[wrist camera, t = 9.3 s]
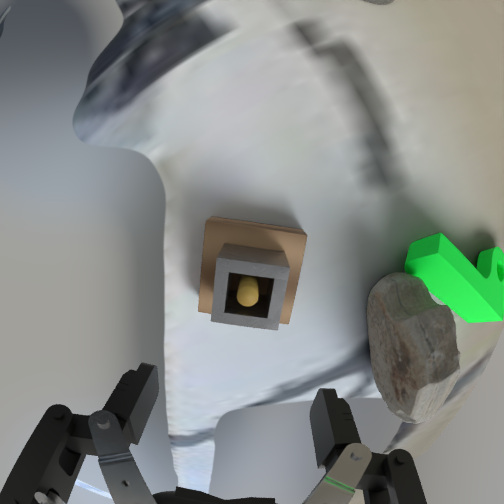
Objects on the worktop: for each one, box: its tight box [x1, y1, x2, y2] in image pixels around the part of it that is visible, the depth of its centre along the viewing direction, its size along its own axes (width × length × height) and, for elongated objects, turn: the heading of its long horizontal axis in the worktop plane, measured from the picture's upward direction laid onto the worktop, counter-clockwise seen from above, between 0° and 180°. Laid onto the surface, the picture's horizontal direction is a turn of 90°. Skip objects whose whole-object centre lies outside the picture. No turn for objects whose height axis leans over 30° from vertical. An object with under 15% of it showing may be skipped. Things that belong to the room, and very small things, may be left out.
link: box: [211, 243, 290, 330], centre depth 25 cm, size 6×6×5 cm
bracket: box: [404, 232, 504, 323], centre depth 28 cm, size 20×10×7 cm, turn 60°
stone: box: [366, 272, 460, 424], centre depth 25 cm, size 19×7×15 cm, turn 13°
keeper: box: [198, 217, 307, 324], centre depth 27 cm, size 10×10×8 cm
